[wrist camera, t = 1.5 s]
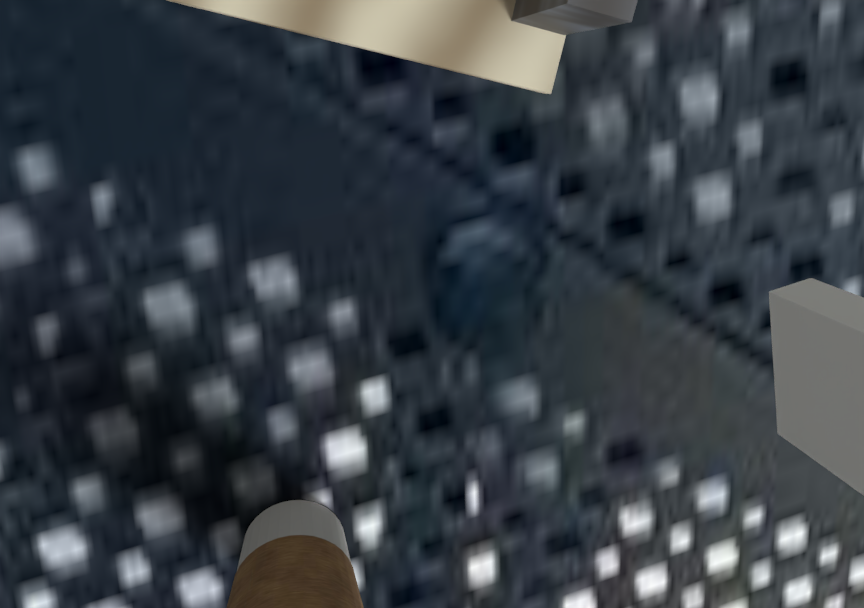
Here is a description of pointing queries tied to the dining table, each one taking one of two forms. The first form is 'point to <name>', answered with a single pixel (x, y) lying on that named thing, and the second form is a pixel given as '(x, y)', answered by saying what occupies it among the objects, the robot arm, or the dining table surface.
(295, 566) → the coffee cup
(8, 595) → the dining table surface
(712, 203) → the dining table surface
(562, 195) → the dining table surface
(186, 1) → the lead screw slide rig
